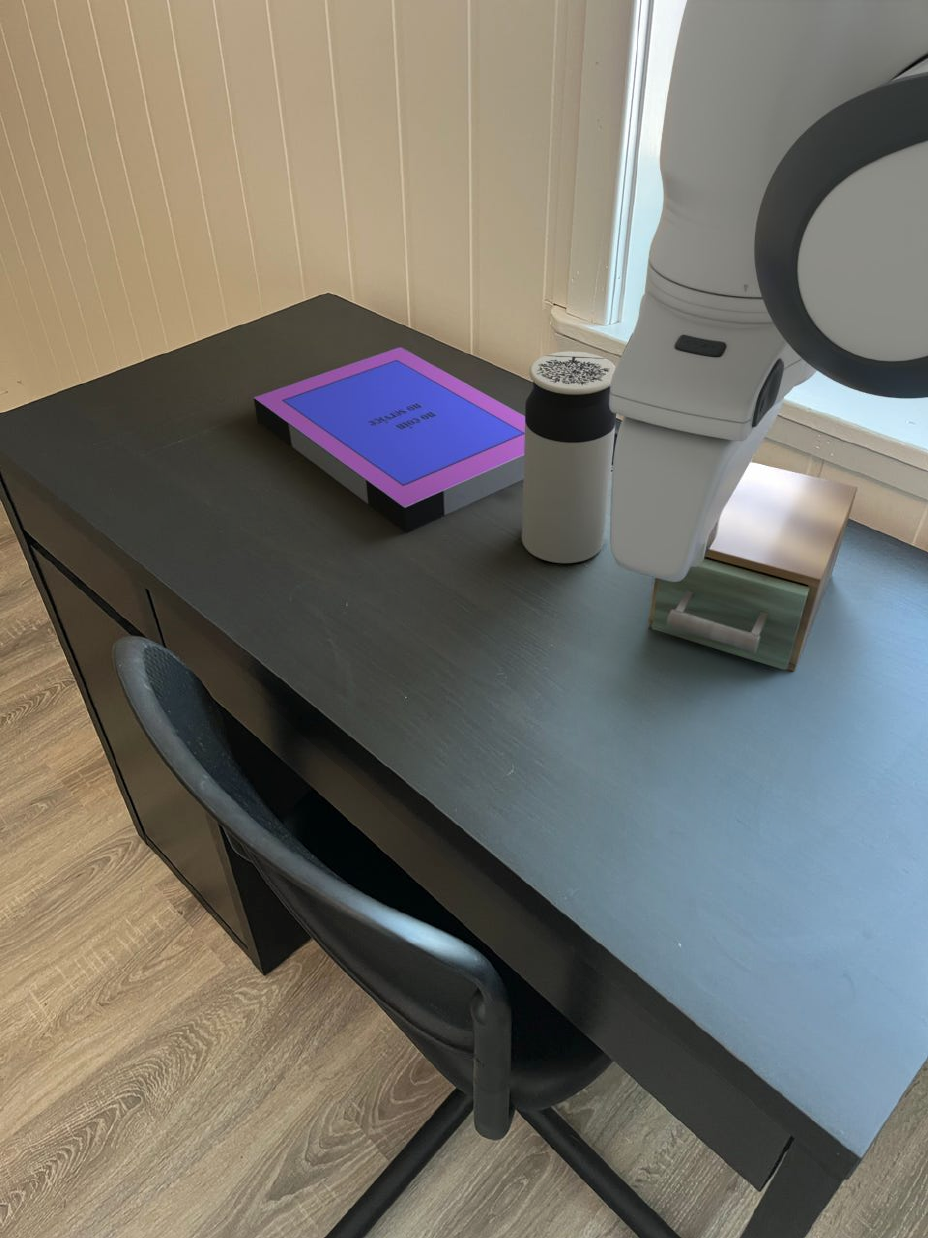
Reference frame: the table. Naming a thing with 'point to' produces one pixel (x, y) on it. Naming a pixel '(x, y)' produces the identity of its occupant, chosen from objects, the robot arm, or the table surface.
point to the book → (400, 435)
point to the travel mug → (567, 456)
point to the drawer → (733, 611)
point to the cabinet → (784, 533)
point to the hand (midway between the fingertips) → (692, 551)
